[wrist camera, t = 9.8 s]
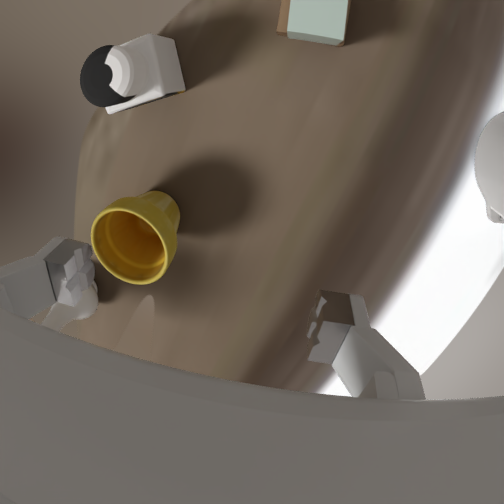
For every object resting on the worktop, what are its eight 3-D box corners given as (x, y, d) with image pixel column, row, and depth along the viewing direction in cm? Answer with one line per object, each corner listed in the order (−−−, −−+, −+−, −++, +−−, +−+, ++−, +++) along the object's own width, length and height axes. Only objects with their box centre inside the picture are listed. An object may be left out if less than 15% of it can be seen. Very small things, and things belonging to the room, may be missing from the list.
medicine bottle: (135, 107, 35) (80, 123, 25) (123, 57, 32) (65, 58, 22) (187, 91, 34) (143, 99, 24) (174, 38, 30) (127, 27, 20)
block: (348, -5, 25) (352, -12, 23) (339, 47, 29) (343, 44, 26) (286, -17, 25) (286, -25, 23) (277, 35, 29) (276, 31, 27)
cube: (340, 4, 24) (348, -7, 20) (336, 45, 27) (343, 40, 22) (292, -4, 24) (292, -17, 20) (287, 37, 27) (287, 30, 23)
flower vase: (52, 229, 46) (-45, 323, 25) (134, 293, 51) (64, 415, 30) (38, 273, 52) (-37, 360, 31) (109, 329, 57) (51, 431, 36)
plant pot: (134, 246, 46) (104, 284, 38) (117, 181, 41) (79, 210, 32) (199, 244, 44) (177, 286, 36) (186, 174, 39) (157, 203, 31)
